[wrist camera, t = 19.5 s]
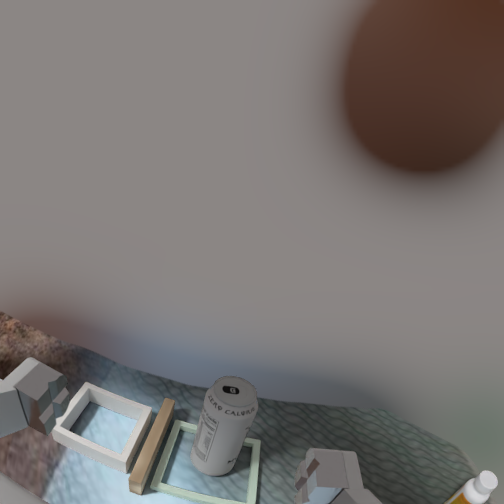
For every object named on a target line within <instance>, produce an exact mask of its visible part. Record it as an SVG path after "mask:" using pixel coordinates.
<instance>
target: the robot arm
mask: <svg viewBox="0 0 504 504" xmlns="http://www.w3.org/2000/svg"><path fill="white" fill-rule="evenodd" d="M67 384H68V382H67V377H66V376H65V375H63V374H61V373H59V372H58V371H56V370H54V369H52V368H50V367H48V366H47V365H45V364H43V363H41V362H39V361H38V360H36V359H34V358H32V357H30V358H27V359H26V360H25V361H24V362H23V363H21V364H20V365H19V366H18V367H17V368H16V369H15V370H14V371H13V372H11V373H10V374H9V375H8V376H7V377H6V378H5V379H4V380H2V379H0V438H1V437H4V436H6V435H9V434H11V433H14V432H16V431H19V430H21V429H24V428H26V427H28V426H30V427H32V428H34V429H35V430H37V431H39V432H41V433H43V434H44V435H46V436H48V435H49V434H50V432H51V431H52V430H53V428H54V427H55V426H56V418H59V417H62V416H63V415H64V414H65V412H66V411H67V408H68V406H69V401H70V396H69V392H68V391H67V389H66V388H65V386H66V385H67ZM295 487H296V488H297V490H298V493H297V494H296V495H295V504H382V503H381V502H380V501H379V500H378V499H377V498H376V497H375V496H374V495H373V494H372V493H371V492H370V491H369V490H368V489H364V487H363V482H362V477H361V473H360V468H359V464H358V459H357V455H356V453H355V452H354V451H339V450H330V449H319V448H310V449H309V450H308V451H307V453H306V459H305V460H303V461H301V462H300V464H299V465H298V467H297V470H296V473H295ZM0 504H49V503H48V502H46V501H44V500H42V499H41V498H39V497H37V496H36V495H34V494H33V493H31V492H29V491H28V490H26V489H25V488H23V487H22V486H20V485H19V484H17V483H16V482H14V481H13V480H12V479H10V478H9V477H7V476H6V475H5V474H3V473H2V472H0Z"/></svg>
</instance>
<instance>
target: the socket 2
mask: <svg viewBox="0 0 504 504" xmlns="http://www.w3.org/2000/svg"><path fill="white" fill-rule="evenodd" d="M197 427H198V426H197V425H194V424H190V423H187V422H183V421H180V420H177V419H176V420H175V422H174V425H173V428H172V430H171V433H170V435H169V438H168V441H167V443H166V446H165V448H164V451H163V454H162V456H161V459H160V462H159V464H158V467H157V469H156V472H155V475H154V477H153V480H152V483H151V485H150V489H152V490H155V491H158V492H162V493H165V494H168V495H171V496H175V497H178V498H182V499H186V500H189V501H193V502H197V503H201V504H255V502H256V491H257V480H258V468H259V456H260V443H261V440H257V439H252V438H247V437H246V439H245V441H244V443H243V446H247V447H252V453H251V462H250V472H249V481H248V490H247V498H246V503H243V502H237V501H232V500H227V499H222V498H217V497H212V496H208V495H204V494H200V493H196V492H192V491H188V490H184V489H181V488H177V487H174V486H170V485H167V484H164V483H161V481H162V479H163V476H164V473H165V470H166V467H167V464H168V462H169V459H170V456H171V453H172V450H173V447H174V445H175V442H176V439H177V436H178V433H179V431H180V430H183V431H186V432H190V433H193V434H196V431H197Z"/></svg>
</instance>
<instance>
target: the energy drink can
mask: <svg viewBox="0 0 504 504" xmlns="http://www.w3.org/2000/svg"><path fill="white" fill-rule="evenodd" d="M257 410H258V401H257V392H256V389H255V388H254V386H253V385H252V384H251V383H249V382H248V381H246V380H244V379H242V378H239V377H234V376H225V377H222V378H219V379H218V380H217V381H215V383H214V385H213V386H211V387H210V388H209V389H208V390H207V392H206V395H205V399H204V403H203V407H202V411H201V415H200V419H199V423H198V427H197V431H196V435H195V439H194V443H193V447H192V451H191V461H192V463H193V465H194V466H195V467H196V468H197V469H198V470H199V471H200V472H202V473H204V474H206V475H210V476H219V475H224V474H226V473H228V472H229V471H230V470H231V469H232V468H233V466H234V464H235V461H236V459H237V457H238V455H239V452H240V450H241V448H242V446H243V443H244V441H245V439H246V436H247V434H248V432H249V429H250V427H251V425H252V422H253V420H254V417H255V415H256V413H257Z"/></svg>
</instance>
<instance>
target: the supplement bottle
mask: <svg viewBox="0 0 504 504" xmlns="http://www.w3.org/2000/svg"><path fill="white" fill-rule="evenodd" d="M497 484H498V481H497V478H496V476H495V475H494V474H493V473H492V472H490V471H483V472H481V473H480V474H479V475H478V476H477V477H476V478H473V479H470V480H469V481H467V482H466V483H465V484H464V485H463V486H462V487H461V488H460V489H459V490H458V491H457V492H456V493H455V494H454V495H452V496H451V497H450V498H449V499H448V500H447V501H446V502H445V503H444V504H483V503H484V502H486V501H487V499H488V498H489V495H490V492H492V490H494V489H495V488H496V486H497Z"/></svg>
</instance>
